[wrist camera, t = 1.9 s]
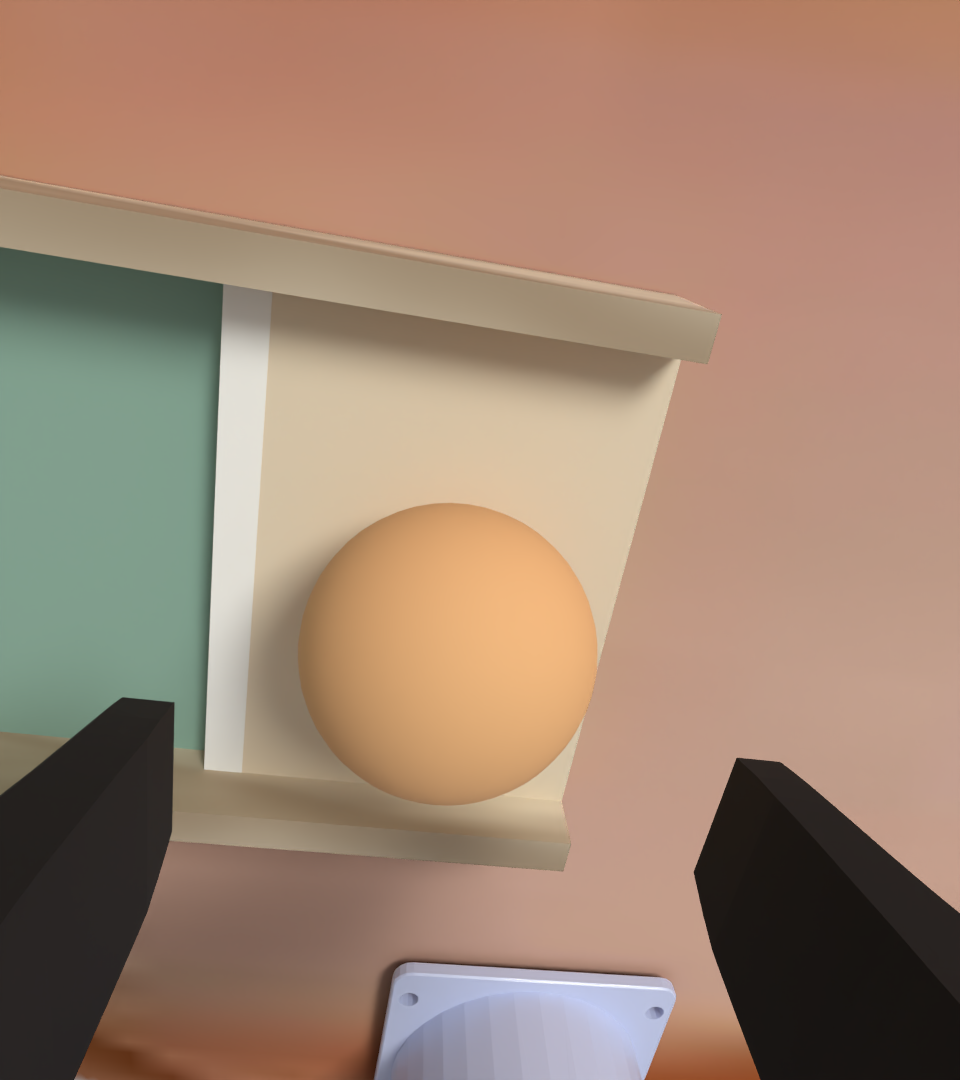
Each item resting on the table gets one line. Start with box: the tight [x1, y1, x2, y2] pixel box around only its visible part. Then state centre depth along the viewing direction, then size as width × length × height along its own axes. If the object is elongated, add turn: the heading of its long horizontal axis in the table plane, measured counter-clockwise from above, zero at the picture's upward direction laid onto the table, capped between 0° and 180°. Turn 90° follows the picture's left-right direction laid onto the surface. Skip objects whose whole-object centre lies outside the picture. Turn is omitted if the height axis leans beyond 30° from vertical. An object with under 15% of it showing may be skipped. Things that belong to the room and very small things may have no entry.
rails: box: [0, 176, 722, 871], centre depth 15 cm, size 12×17×2 cm
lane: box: [0, 247, 681, 801], centre depth 16 cm, size 12×17×1 cm
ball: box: [298, 503, 598, 806], centre depth 13 cm, size 5×5×5 cm
